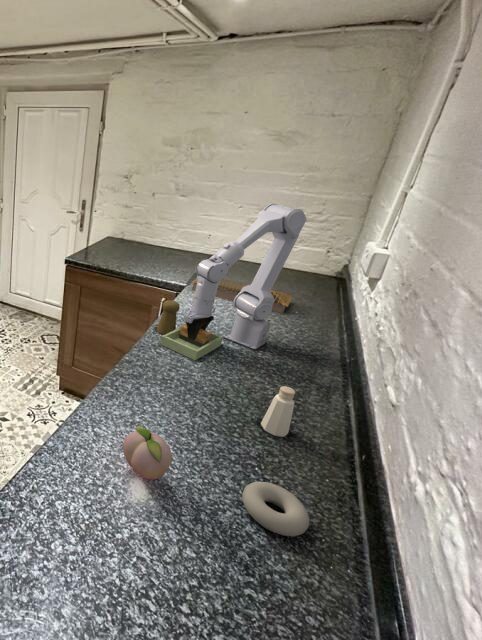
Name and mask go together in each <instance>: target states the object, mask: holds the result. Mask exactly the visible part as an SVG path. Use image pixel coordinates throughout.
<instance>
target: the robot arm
mask: <svg viewBox="0 0 482 640" xmlns="http://www.w3.org/2000/svg"><path fill="white" fill-rule="evenodd" d="M307 220H308V219H307V217H306V214H305V212H304V210H303V209H301V208H293V207H288V206H284V205H280V204H278V203H269V204H268V205H266V206H264V208H263V209H262V210H260V211H259V212H258V215H257V219H256V220H255V221H254V222H253V223H252V224H251V225H250V226H249V227H248V228H247V229H246V230H244V232H242V234H241V235H240V236H239V237H238V238H237V239H235V241H228V242H226V243H224V244H223V245H222V247H221V248H220V249H218V251H216V252H214V254H213V255H211V257H209V258H206V259H203V260H201V261H200V262H199V263H198V264H197V266H195V273H196V275H197V276H196V278H197V280H196V281H197V286H196V290H195V291H194V294H193V299H192V303H191V305H190V306H188V307H187V310H188V313H187V314H186V315H184V318H183V319H184V320H183V321H184V322H185V324H186V325H187V331H188V338H189V339H192V340H195V339H196V337H197V335H198V332H199V330H200V328H201V329H203V330H206V331H207V328H208V327H209V325H210V324H211V322H212V321H214V320H215V316H213V314H214V313H215V312H216V307H217V306H215V305H214V304H215V299H216V297H217V296H216V292H217V289H219V287H218V284H219V281H221V280H223V279H226V276H227V274H228V272H229V271H230V268H231V267H232V266H233V265H234V264H235V263H236V262H238V261H239V260H240V259H242V258H243V257H244V255H245V250H246V249H247V248H248V247H250V246H251V245H253V244H254V243H255V242H256V241H258V240H259V239H261V238H262V237H263V236H264V235H266V234H268V233H272V235H273V240H272V242H271V244H270V245H269V248H268V250H267V252H266V254H265V256H264V258H263V260H262V262H261V264H260V266H259V268H258V270H257V272H256V274H255V276H254V277H253V280H252V281H251V283H250V284H247V285H248V286H245V287H243V288H242V290H241V292H238V293H239V294H238V295H237V296H236V297H235V299H234V301H233V306H234V307H235V312H236V314H235V316H234V317H235V318H234V321H233V325H232V329H231V332H230V333H228V334H227V335H225V336H224V338H225V339H227V340H229V341H232V342H234V343H236V344H240V345H242V346H244V347H247V348H250V349H252V350H257V349H258V348H260V347H261V346H263V345H265V344H266V340H267V337H268V333H269V330H270V327H271V322H270V321H267V320H265V319H267V318H268V317H270V316H271V313H272V312H273V311H272V305H273V303H275V302H276V301H275V300H274V297H273V296H272V294H271V292H272V291H270V290H273V287H274V285H275V283H276V281H277V279H278V277H279V275H280V273H281V271H282V270H283V268H284V266H285V264H286V262H287V260H288V258H289V256H290V254H291V252H292V250H293V248H294V246H295V245H296V242H297V241H298V239H299V236H300V234H301V232H302V230H303V228H304V226H305V224H306V222H307ZM254 295H255V296H254ZM256 296H257V297H256ZM274 301H275V302H274Z"/></svg>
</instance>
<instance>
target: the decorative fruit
mask: <svg viewBox="0 0 482 640" xmlns="http://www.w3.org/2000/svg"><path fill="white" fill-rule="evenodd" d="M122 451H123V454H124V458H125V460H126V462H127V463H128V465H129V466H130V467H131V468H132V470H133V472H134V473H135V474H136V475H138V476H140V477H141V478H143V479H146V480H157V479H160V478H161V477H163V476H164V475H165V474H166V473H167V472H168V470H169V469H170V468H171V464H172V463H173V462H172V461H173V455H172V451H171V448H170V446H169V445H168V443H167V442H166V441H165V440H164V439H163V437H161V436H160V435H159V434H157V433H155V432H153V431H150V430H149V429H148V428H146V427H144V426H135V430H134V431H132V432H130V433H128V434H127V435H126V436H125V438H124V439H123V442H122Z"/></svg>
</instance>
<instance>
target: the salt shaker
mask: <svg viewBox="0 0 482 640" xmlns="http://www.w3.org/2000/svg"><path fill="white" fill-rule="evenodd" d="M295 395H296V391H295V389H294V388H292V387H289V386H285V385H282V386H280V388H279V392H278V393H277V394H276V395H275V396H274V397H273V399H272V401H271V402H270V405H269V406H268V408H267V410H266V412H265V414H264V416H263V418H262V420H261V422H260V426H261V427H262V429H263V430H264V431H265V432H266V433H268V434H271V435H272V436H275V437H281V438H282V437H283V438H285V437H286V436H287V435H288V434H289V433H290V427H291V423H292V417H293V413H294V408H295V400H294V397H295Z"/></svg>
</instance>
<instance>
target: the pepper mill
mask: <svg viewBox="0 0 482 640" xmlns="http://www.w3.org/2000/svg"><path fill="white" fill-rule="evenodd" d="M179 310H180V304H179V303H178V302H177V301H176V300H171V299H168V300H165V301H164V302H163V303H162V313H161V316H160V318H159V322H158V324H157V327H156V331H157V332H158V333H159V334H161V335H165V334H167V333H170V332H172V331H174V330H176V329H177V328H176V327H177V314H178V312H179Z"/></svg>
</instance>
